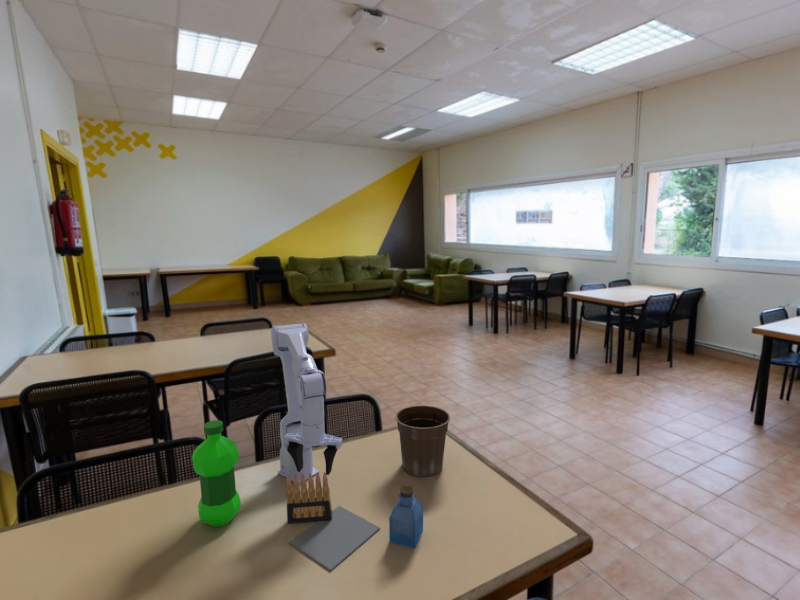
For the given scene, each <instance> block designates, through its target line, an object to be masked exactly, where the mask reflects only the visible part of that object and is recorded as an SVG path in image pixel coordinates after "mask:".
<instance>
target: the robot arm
mask: <svg viewBox="0 0 800 600" xmlns="http://www.w3.org/2000/svg"><path fill="white" fill-rule="evenodd" d="M270 335H271V346H272V352H273V355H274V356H277V357H280V360H281V364H282V370H283V379H284V386H285V387H284V388H285V395H286V397H285V398H286V403H287V410H288V411H287V413H286V415H285V416H284V417H283V418H282V419H281V420H280V423H279V437H280V443H281V447H280V450H279V466H280V468H279V469H280V470H279V471H277V472H278V474H279V475H281V476H283V477H284V478H286V479H287V475H289V477H290V480H291V482H293V483H294V476H295V474H296V475H297V478H298V482H299V485H300V484H301V477H302V474H304V476H305V479H306V481H307V480H308V479H309V474H310V473H311V475H312V477H314V476H316V474H317V473H318V474H319V473H320V472H321V471H320V469H318V468H315V467H314V463H313V461H314V459H313V447H318V446H321V447H326V448H325V449H324V451H323V456H324V461H325V473H326V475H327V476H330V474H331V472H332V469H333V465H334V460H335V458H336V454H337V452H338V449H341V448H342V446H343V437H338V436H335V435H330V434H328V433H326V431H325V403H324V402H325V400H324V397H325V396H326V394H327V390H328V389H327V380H326V376H325V373H324V371H321V369H318V367H317V364H316V362H315V360H314V357H313V356H312V355H311V354H309V353H307V349H306V348H307V345H308V341H309V328H308V326H307V324H306V323H305V322H301V323H295V324H285V325H273V326H272V327H271V330H270ZM296 422H297V423H296Z"/></svg>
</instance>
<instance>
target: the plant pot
mask: <svg viewBox="0 0 800 600" xmlns="http://www.w3.org/2000/svg"><path fill="white" fill-rule="evenodd" d="M394 418H395V421H396V423H397V424H396V425H397V431H398V432H399V442H400V451H401V452H400V453H401V465H402V469H403V470H405V471H406V473H408V474H409V475H412V476H415V477H423V478H425V477H431V476H432V475H438V474H439V473H440V472H441V471H442V469H443V467H444V466H443V465H444V455H445V447H446V446H445V445H446V437H447V433H448V429H449V428H448V427H449V422H450V421H451V415H450V413H449V412H447V411H446V410H445V409H443V408H440V407H437V406H432V405H411V406H410V405H409V406H407V407H404V408H401V409H400V410H398V411H397V412H396V413H395V416H394Z"/></svg>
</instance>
